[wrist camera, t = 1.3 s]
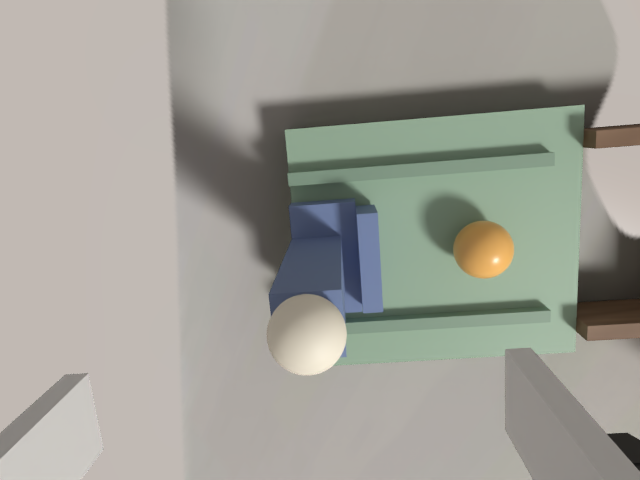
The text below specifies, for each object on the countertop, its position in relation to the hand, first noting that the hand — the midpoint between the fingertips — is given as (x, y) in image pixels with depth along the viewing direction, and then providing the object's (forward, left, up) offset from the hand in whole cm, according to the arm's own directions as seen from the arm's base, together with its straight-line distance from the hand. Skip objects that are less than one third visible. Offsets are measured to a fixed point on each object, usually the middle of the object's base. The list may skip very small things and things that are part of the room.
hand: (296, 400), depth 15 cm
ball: (0, +10, -15) cm, 18 cm away
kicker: (0, +1, -17) cm, 17 cm away
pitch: (0, +8, -20) cm, 21 cm away
